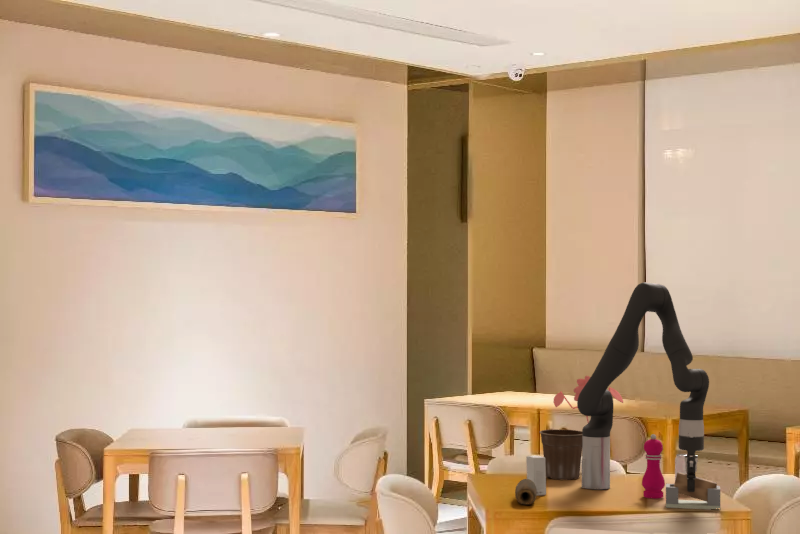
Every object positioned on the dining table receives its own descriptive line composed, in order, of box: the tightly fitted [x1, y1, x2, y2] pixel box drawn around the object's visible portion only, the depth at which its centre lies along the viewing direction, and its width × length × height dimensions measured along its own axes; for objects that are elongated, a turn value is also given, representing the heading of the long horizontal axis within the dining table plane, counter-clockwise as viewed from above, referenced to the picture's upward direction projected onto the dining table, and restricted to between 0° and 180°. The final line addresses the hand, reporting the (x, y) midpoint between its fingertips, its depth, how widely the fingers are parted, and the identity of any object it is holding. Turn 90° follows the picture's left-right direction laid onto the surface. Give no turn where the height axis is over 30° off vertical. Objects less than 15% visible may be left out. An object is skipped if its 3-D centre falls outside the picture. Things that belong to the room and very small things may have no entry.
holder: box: [665, 483, 721, 510], centre depth 359 cm, size 16×9×6 cm, turn 77°
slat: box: [673, 472, 718, 502], centre depth 359 cm, size 12×3×6 cm, turn 77°
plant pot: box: [539, 429, 583, 481], centre depth 415 cm, size 16×16×16 cm
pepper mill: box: [641, 433, 666, 500], centre depth 375 cm, size 7×7×20 cm
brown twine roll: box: [514, 478, 538, 505], centre depth 364 cm, size 15×7×7 cm, turn 177°
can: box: [674, 453, 687, 480], centre depth 386 cm, size 6×6×12 cm
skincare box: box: [525, 454, 547, 496], centre depth 379 cm, size 6×4×12 cm
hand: (690, 490), depth 359 cm, fingers closed on slat, 3 cm apart
